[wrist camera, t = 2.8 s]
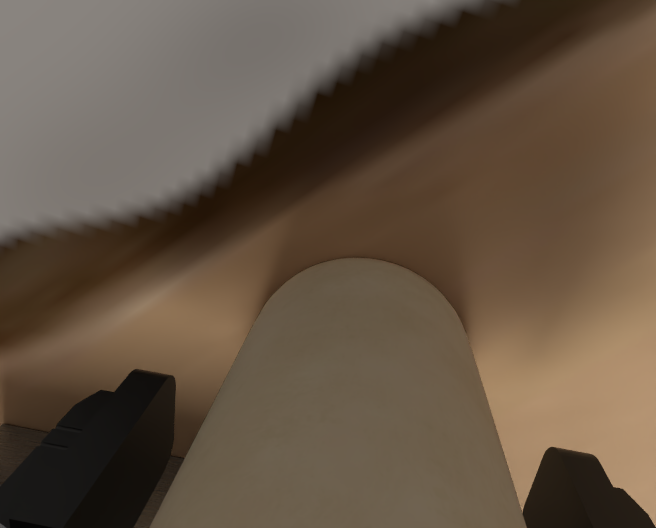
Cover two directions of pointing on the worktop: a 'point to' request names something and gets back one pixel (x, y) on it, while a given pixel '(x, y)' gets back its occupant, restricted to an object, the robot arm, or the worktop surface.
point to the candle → (348, 415)
